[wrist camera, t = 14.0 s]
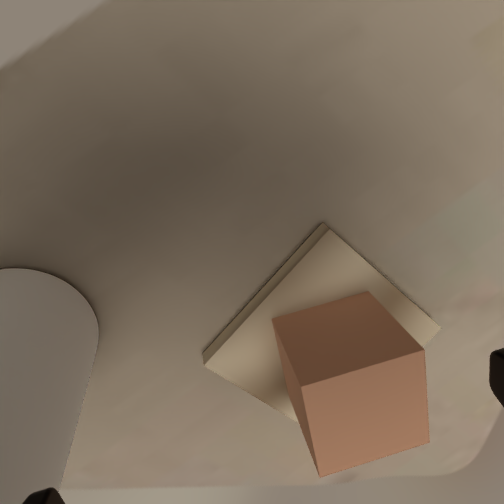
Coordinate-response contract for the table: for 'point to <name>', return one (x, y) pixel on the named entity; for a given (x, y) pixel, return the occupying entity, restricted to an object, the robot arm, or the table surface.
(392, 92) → the table surface
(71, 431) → the can
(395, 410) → the cube
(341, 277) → the coaster
